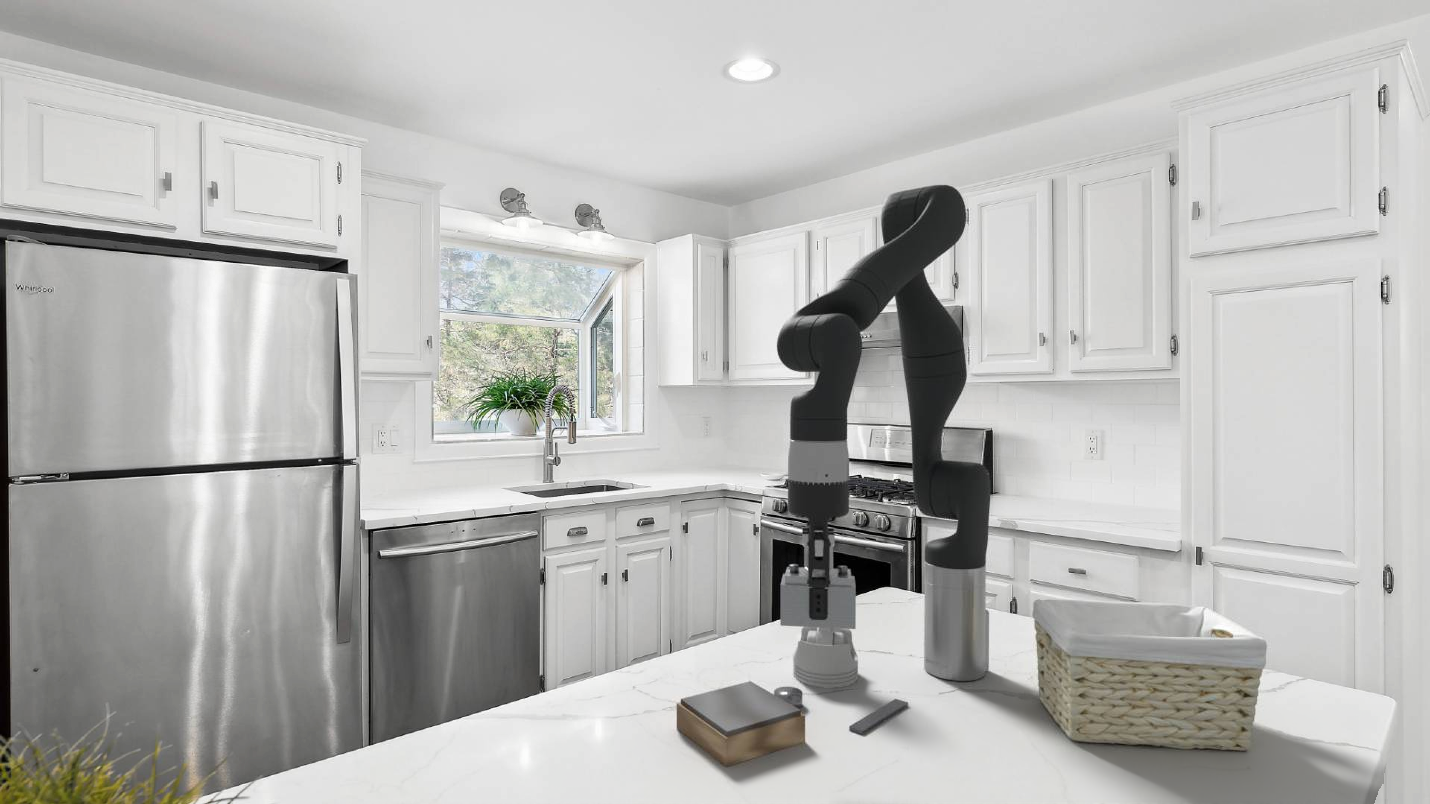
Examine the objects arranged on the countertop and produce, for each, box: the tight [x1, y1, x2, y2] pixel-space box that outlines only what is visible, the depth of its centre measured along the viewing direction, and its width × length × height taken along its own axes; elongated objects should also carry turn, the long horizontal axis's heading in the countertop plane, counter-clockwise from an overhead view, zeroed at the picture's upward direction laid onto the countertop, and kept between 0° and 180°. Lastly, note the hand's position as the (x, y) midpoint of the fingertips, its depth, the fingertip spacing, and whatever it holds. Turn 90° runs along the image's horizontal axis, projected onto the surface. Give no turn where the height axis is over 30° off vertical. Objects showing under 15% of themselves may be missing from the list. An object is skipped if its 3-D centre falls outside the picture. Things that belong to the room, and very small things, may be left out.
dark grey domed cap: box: [773, 686, 803, 710], centre depth 108 cm, size 4×4×2 cm
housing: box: [779, 563, 857, 630], centre depth 95 cm, size 9×6×7 cm, turn 81°
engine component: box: [792, 566, 859, 689], centre depth 120 cm, size 11×20×10 cm
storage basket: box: [1032, 598, 1268, 751], centre depth 102 cm, size 24×16×15 cm
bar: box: [848, 698, 909, 736], centre depth 104 cm, size 12×2×1 cm, turn 137°
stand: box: [676, 680, 806, 768], centre depth 99 cm, size 12×12×4 cm
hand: (817, 611), depth 95 cm, fingers closed on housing, 5 cm apart
